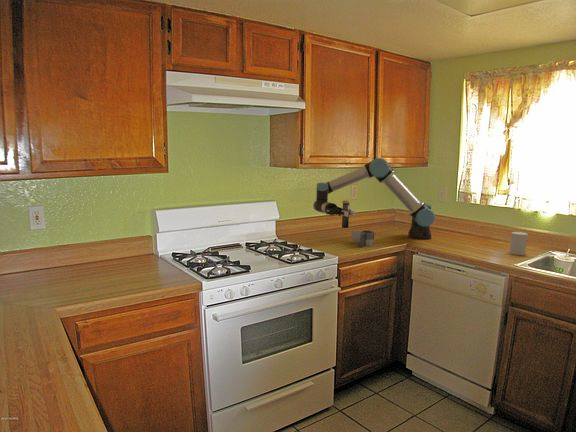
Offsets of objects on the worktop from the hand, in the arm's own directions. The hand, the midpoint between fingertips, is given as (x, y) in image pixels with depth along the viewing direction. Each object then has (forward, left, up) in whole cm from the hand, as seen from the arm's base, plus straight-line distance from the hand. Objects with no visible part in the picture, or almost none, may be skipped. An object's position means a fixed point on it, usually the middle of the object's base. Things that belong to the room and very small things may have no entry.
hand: (351, 214), depth 249 cm
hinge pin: (-3, -5, -9) cm, 10 cm away
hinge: (-9, +3, -20) cm, 22 cm away
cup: (-47, +85, -20) cm, 99 cm away
